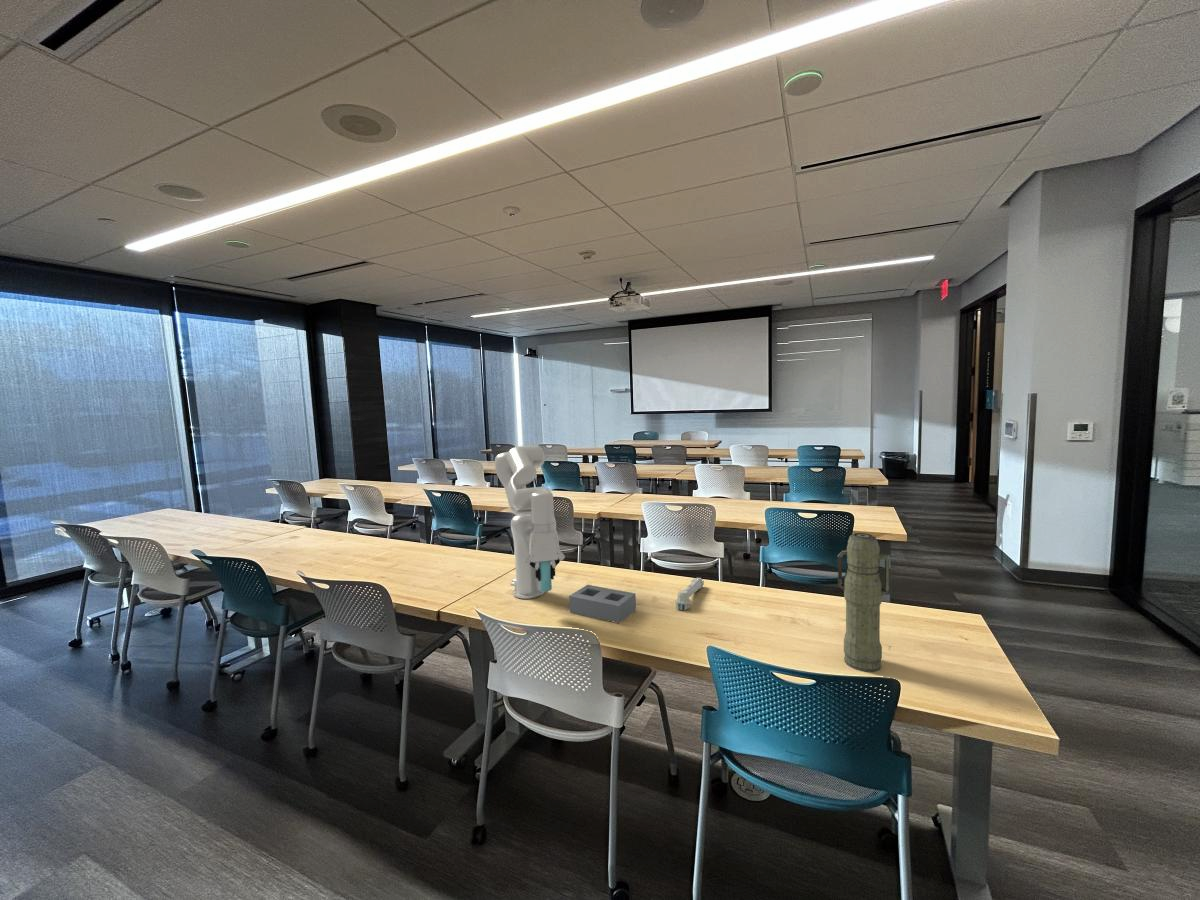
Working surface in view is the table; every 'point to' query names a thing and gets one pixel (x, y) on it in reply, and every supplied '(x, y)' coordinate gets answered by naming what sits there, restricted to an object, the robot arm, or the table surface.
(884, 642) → the table surface
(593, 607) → the hole block
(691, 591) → the grey handheld tool
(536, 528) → the robot arm
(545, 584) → the teal dowel
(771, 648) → the table surface
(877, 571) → the thermos
